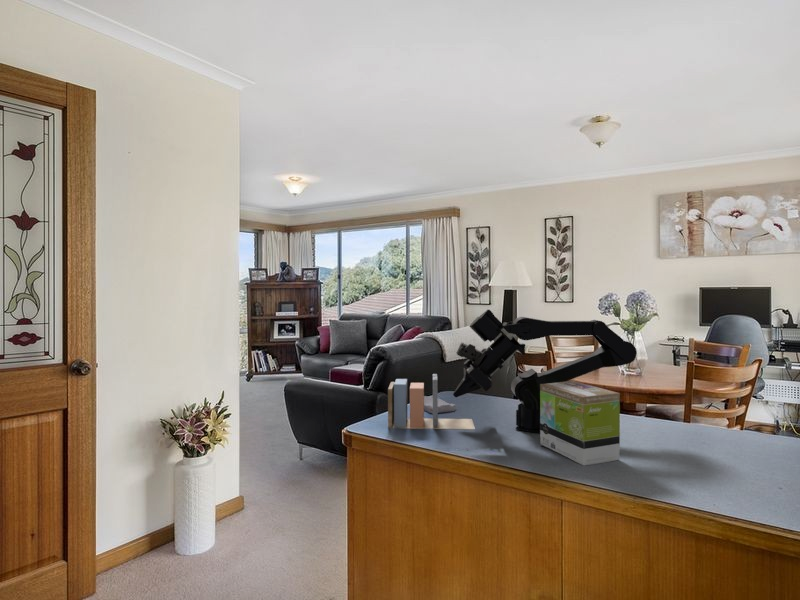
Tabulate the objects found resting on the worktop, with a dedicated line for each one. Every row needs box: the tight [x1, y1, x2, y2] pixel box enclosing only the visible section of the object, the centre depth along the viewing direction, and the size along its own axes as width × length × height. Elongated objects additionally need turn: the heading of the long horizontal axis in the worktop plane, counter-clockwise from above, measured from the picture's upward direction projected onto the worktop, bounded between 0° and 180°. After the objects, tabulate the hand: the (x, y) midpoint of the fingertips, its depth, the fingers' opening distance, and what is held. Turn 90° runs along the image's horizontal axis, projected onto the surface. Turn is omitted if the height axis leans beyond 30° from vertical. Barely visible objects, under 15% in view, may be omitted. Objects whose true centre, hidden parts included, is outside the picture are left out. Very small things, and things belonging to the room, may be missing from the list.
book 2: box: [409, 382, 425, 427], centre depth 132 cm, size 4×8×10 cm, turn 176°
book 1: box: [394, 378, 408, 427], centre depth 133 cm, size 3×8×11 cm, turn 176°
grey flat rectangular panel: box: [432, 373, 439, 427], centre depth 132 cm, size 1×9×12 cm, turn 176°
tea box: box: [539, 380, 621, 467], centre depth 112 cm, size 15×10×15 cm, turn 21°
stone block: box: [424, 395, 457, 415], centre depth 150 cm, size 12×5×10 cm
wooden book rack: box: [387, 381, 476, 430], centre depth 132 cm, size 22×10×11 cm, turn 86°
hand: (454, 395), depth 132 cm, fingers closed
